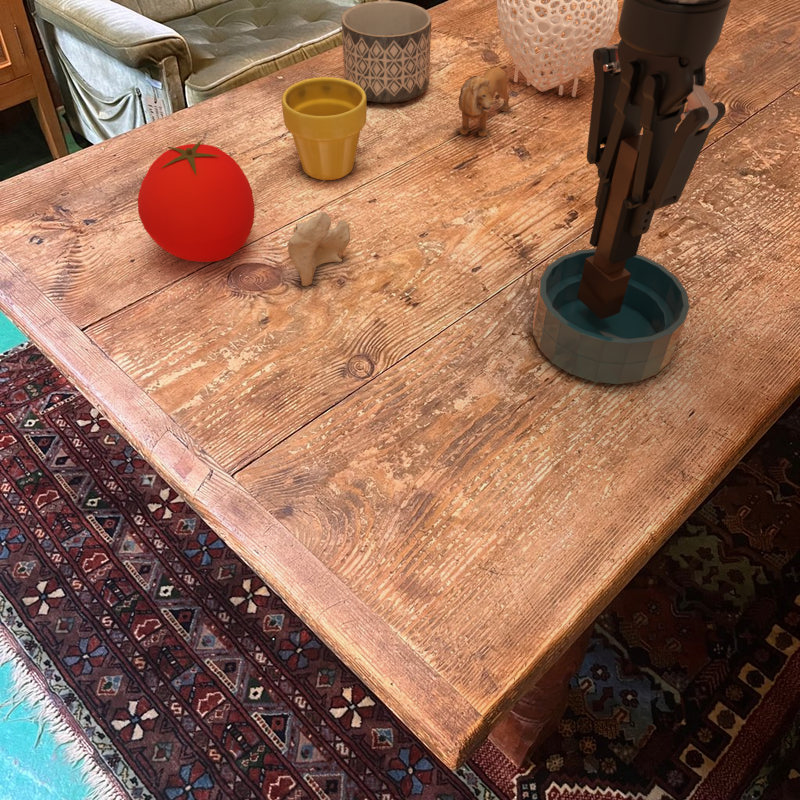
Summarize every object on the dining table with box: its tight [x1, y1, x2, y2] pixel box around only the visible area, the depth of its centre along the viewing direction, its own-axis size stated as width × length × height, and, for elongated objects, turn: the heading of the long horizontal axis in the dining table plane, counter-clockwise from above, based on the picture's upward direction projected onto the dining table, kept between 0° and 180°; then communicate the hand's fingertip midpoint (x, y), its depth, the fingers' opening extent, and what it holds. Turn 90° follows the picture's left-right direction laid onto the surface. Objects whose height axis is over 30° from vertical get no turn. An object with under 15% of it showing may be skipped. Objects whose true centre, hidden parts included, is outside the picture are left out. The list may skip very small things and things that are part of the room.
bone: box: [287, 211, 351, 287], centre depth 84 cm, size 9×6×10 cm
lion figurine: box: [458, 66, 510, 138], centre depth 106 cm, size 15×5×9 cm, turn 161°
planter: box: [341, 0, 432, 104], centre depth 112 cm, size 13×13×10 cm
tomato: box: [137, 139, 256, 263], centre depth 84 cm, size 12×12×13 cm
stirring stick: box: [577, 134, 642, 320], centre depth 72 cm, size 4×2×18 cm, turn 28°
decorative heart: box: [496, 0, 619, 98], centre depth 110 cm, size 18×11×17 cm, turn 53°
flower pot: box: [281, 76, 368, 181], centre depth 97 cm, size 10×10×10 cm
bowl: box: [532, 248, 691, 385], centre depth 77 cm, size 14×14×6 cm
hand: (612, 248), depth 73 cm, fingers closed on stirring stick, 2 cm apart
